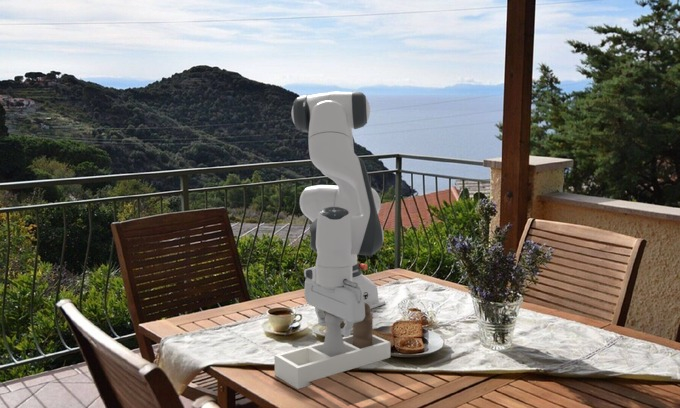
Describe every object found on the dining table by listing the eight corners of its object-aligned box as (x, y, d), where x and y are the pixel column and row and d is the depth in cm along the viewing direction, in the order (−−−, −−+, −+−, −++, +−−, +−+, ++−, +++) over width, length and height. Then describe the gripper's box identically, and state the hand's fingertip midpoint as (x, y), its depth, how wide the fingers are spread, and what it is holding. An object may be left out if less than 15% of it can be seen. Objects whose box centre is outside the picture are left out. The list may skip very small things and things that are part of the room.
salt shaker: (343, 369, 162) (343, 317, 160) (320, 367, 163) (319, 316, 161) (347, 360, 167) (347, 310, 165) (324, 358, 168) (324, 308, 166)
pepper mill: (363, 350, 174) (364, 298, 172) (376, 356, 170) (376, 303, 168) (348, 355, 171) (348, 301, 169) (361, 361, 167) (361, 306, 165)
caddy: (365, 349, 177) (365, 331, 177) (390, 361, 170) (390, 342, 169) (274, 374, 161) (274, 355, 160) (297, 389, 153) (297, 368, 152)
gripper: (371, 282, 155) (371, 339, 157) (320, 265, 171) (320, 317, 174) (350, 287, 152) (349, 345, 154) (300, 268, 168) (300, 322, 170)
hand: (334, 330), depth 164 cm, fingers open, 8 cm apart
